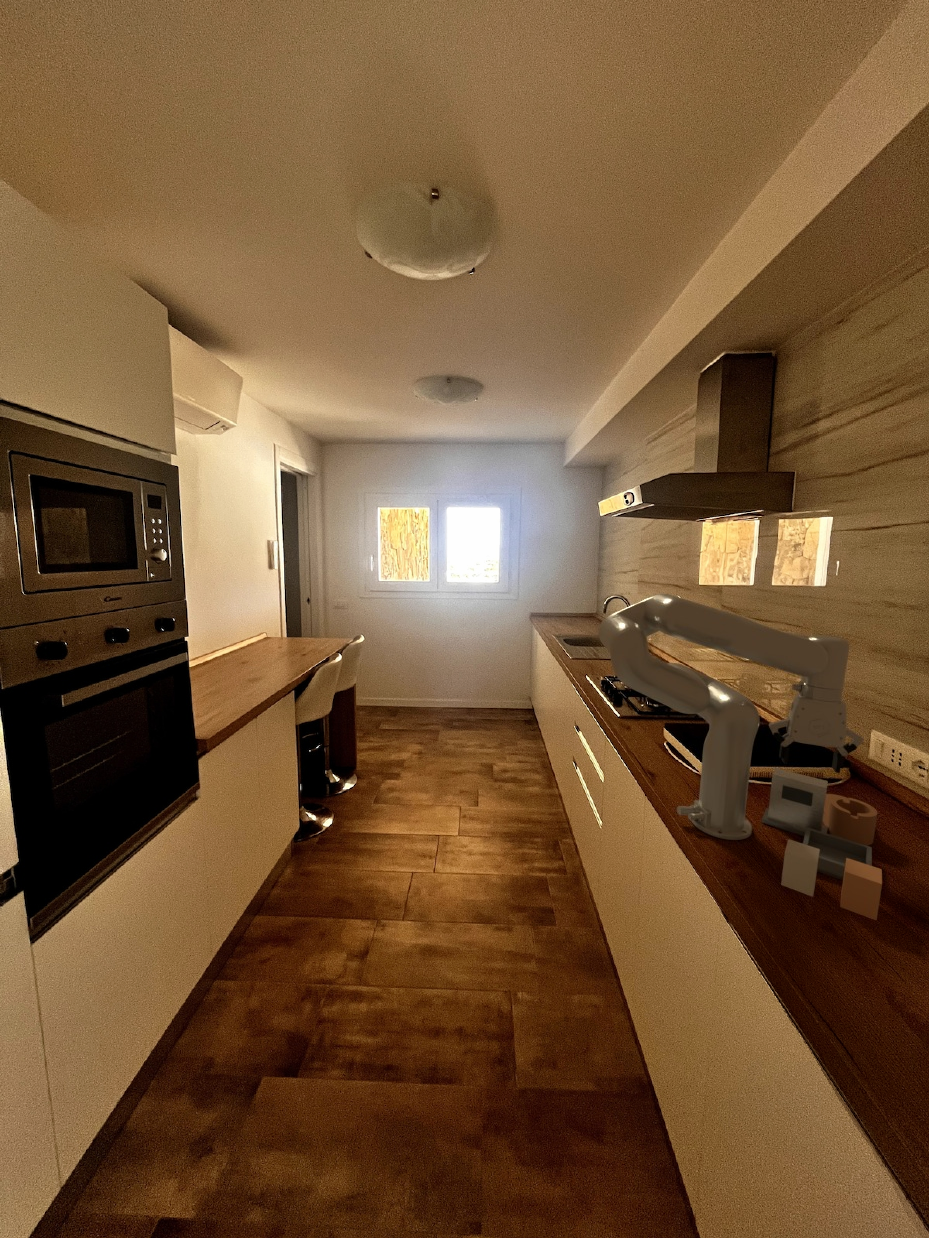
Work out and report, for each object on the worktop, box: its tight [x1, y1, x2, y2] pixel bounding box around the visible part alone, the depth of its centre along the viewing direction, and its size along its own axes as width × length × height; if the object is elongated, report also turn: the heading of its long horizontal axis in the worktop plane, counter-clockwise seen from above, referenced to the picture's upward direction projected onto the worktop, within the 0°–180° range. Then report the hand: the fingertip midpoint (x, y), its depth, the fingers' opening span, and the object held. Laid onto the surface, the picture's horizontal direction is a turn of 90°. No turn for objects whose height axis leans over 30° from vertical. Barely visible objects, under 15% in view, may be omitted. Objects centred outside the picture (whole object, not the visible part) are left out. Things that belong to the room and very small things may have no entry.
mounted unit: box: [761, 767, 829, 837], centre depth 111 cm, size 12×6×12 cm, turn 51°
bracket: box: [822, 793, 878, 846], centre depth 113 cm, size 18×8×7 cm, turn 154°
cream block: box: [780, 839, 820, 897], centre depth 93 cm, size 5×5×7 cm
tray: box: [802, 828, 873, 881], centre depth 100 cm, size 11×11×3 cm
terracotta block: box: [839, 858, 883, 921], centre depth 88 cm, size 5×5×7 cm
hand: (809, 765), depth 110 cm, fingers open, 9 cm apart
